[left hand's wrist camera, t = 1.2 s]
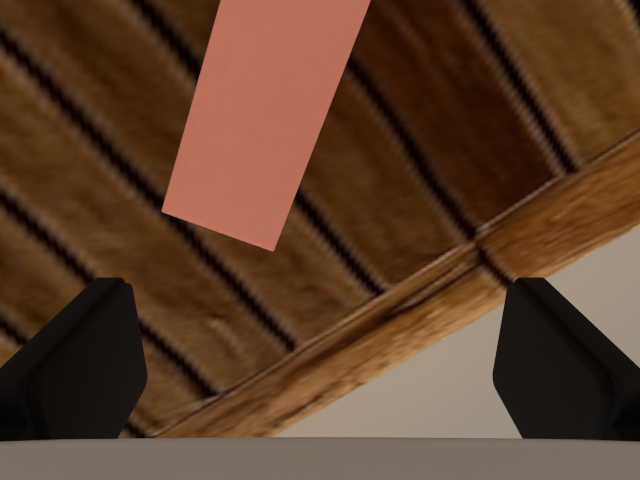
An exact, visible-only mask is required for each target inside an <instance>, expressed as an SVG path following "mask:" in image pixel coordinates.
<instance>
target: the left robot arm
mask: <svg viewBox="0 0 640 480" xmlns="http://www.w3.org/2000/svg"><path fill="white" fill-rule="evenodd" d="M146 383H147V369H146V363H145V357H144V351H143V345H142V339H141V334H140V328H139V322H138V316H137V310H136V305H135V299H134V293H133V288H132V286H131V284H129V283H125V281H124V279H123V278H96V279H95V280H93V281H92V282H91V283H90V284H89V285H88V286H87V287H86V288H85V289H84V290H83V291H82V292H81V293H80V294H79V295H78V296H76V297H75V298H74V299H73V300H72V301H71V302H70V303H69V304H68V305H67V306H66V307H65V308H64V309H63V310H62V311H61V312H59V313H58V314H57V315H56V316H55V317H54V318H53V319H52V320H51V321H50V322H49V323H48V324H47V325H46V326H45V327H43V328H42V329H41V330H40V331H39V332H38V333H37V334H36V335H35V336H34V337H33V338H32V339H31V340H30V341H29V342H28V343H26V344H25V345H24V346H23V347H22V348H21V349H20V350H19V351H18V352H17V353H16V354H15V355H14V356H13V357H12V358H11V359H9V360H8V361H7V362H6V363H5V364H4V365H3V366H2V367H1V368H0V480H640V368H639V367H638V366H637V365H636V364H635V363H634V362H633V361H632V360H631V359H629V358H628V357H627V356H626V355H625V354H624V353H623V352H622V351H621V350H620V349H619V348H618V347H617V346H616V345H615V344H614V343H612V342H611V341H610V340H609V339H608V338H607V337H606V336H605V335H604V334H603V333H602V332H601V331H600V330H599V329H598V328H596V327H595V326H594V325H593V324H592V323H591V322H590V321H589V320H588V319H587V318H586V317H585V316H584V315H583V314H582V313H581V312H579V311H578V310H577V309H576V308H575V307H574V306H573V305H572V304H571V303H570V302H569V301H568V300H567V299H566V298H565V297H563V296H562V295H561V294H560V293H559V292H558V291H557V290H556V289H555V288H554V287H553V286H552V285H551V284H550V283H549V282H548V281H547V280H545V279H544V278H517V279H516V281H515V283H511V284H509V286H508V288H507V293H506V299H505V305H504V310H503V316H502V322H501V328H500V334H499V339H498V345H497V351H496V357H495V363H494V369H493V383H494V386H495V389H496V390H497V392H498V394H499V396H500V398H501V400H502V402H503V403H504V405H505V407H506V409H507V411H508V413H509V414H510V416H511V418H512V420H513V422H514V424H515V425H516V427H517V429H518V431H519V433H520V435H521V436H522V438H523V439H490V438H380V437H261V438H151V439H117V438H118V436H119V435H120V433H121V431H122V429H123V427H124V425H125V424H126V422H127V420H128V418H129V416H130V414H131V413H132V411H133V409H134V407H135V405H136V403H137V402H138V400H139V398H140V396H141V394H142V392H143V391H144V389H145V386H146Z"/></svg>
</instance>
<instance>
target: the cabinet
mask: <svg viewBox="0 0 640 480" xmlns="http://www.w3.org/2000/svg"><path fill="white" fill-rule="evenodd" d="M370 1H371V0H221V1H220V4H219V8H218V11H217V15H216V18H215V22H214V26H213V29H212V33H211V36H210V40H209V43H208V47H207V50H206V54H205V58H204V61H203V65H202V68H201V72H200V75H199V79H198V83H197V86H196V90H195V93H194V97H193V100H192V104H191V108H190V111H189V115H188V118H187V122H186V125H185V129H184V133H183V136H182V140H181V143H180V147H179V150H178V154H177V158H176V161H175V165H174V168H173V172H172V175H171V179H170V183H169V186H168V190H167V193H166V197H165V200H164V204H163V208H162V212H164V213H166V214H169V215H172V216H175V217H178V218H180V219H183V220H186V221H189V222H192V223H195V224H197V225H200V226H203V227H206V228H209V229H211V230H214V231H217V232H220V233H223V234H225V235H228V236H231V237H234V238H237V239H239V240H242V241H245V242H248V243H251V244H253V245H256V246H259V247H262V248H265V249H267V250H270V251H274V249H275V246H276V244H277V241H278V239H279V236H280V233H281V231H282V228H283V226H284V223H285V221H286V218H287V215H288V213H289V210H290V208H291V205H292V202H293V200H294V197H295V195H296V192H297V190H298V187H299V184H300V182H301V179H302V177H303V174H304V171H305V169H306V166H307V164H308V161H309V159H310V156H311V153H312V151H313V148H314V146H315V143H316V140H317V138H318V135H319V133H320V130H321V128H322V125H323V122H324V120H325V117H326V115H327V112H328V109H329V107H330V104H331V102H332V99H333V96H334V94H335V91H336V89H337V86H338V84H339V81H340V78H341V76H342V73H343V71H344V68H345V65H346V63H347V60H348V58H349V55H350V53H351V50H352V47H353V45H354V42H355V40H356V37H357V34H358V32H359V29H360V27H361V24H362V22H363V19H364V16H365V14H366V11H367V9H368V6H369V3H370Z"/></svg>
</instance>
